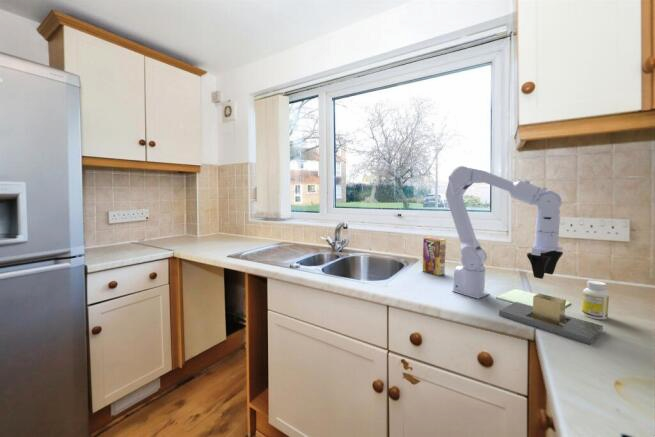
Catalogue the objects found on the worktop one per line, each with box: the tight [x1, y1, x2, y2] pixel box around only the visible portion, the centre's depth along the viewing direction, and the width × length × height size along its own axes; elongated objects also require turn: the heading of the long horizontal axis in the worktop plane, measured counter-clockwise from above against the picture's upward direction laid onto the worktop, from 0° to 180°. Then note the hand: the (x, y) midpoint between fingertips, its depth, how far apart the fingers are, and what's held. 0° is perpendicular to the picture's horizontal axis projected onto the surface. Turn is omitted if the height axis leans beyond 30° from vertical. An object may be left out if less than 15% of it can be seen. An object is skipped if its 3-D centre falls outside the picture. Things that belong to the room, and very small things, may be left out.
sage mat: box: [496, 288, 572, 308], centre depth 95 cm, size 16×14×1 cm
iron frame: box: [498, 302, 604, 346], centre depth 79 cm, size 20×11×2 cm, turn 35°
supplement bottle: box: [581, 280, 610, 320], centre depth 83 cm, size 5×5×10 cm
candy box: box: [422, 236, 447, 276], centre depth 128 cm, size 9×4×15 cm, turn 32°
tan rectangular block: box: [531, 293, 567, 327], centre depth 79 cm, size 6×4×7 cm, turn 35°
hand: (543, 275), depth 89 cm, fingers open, 7 cm apart
